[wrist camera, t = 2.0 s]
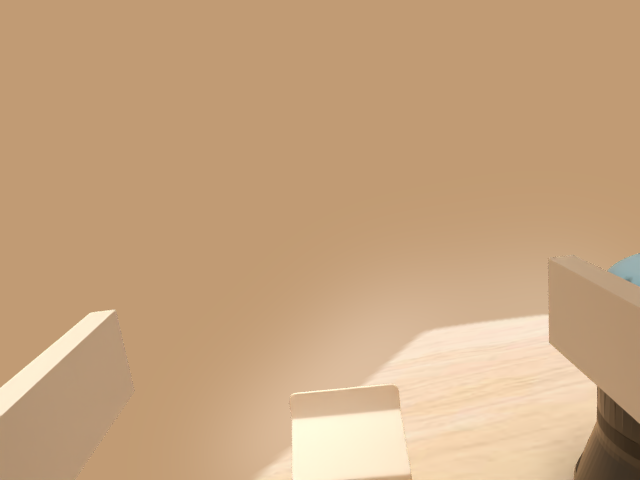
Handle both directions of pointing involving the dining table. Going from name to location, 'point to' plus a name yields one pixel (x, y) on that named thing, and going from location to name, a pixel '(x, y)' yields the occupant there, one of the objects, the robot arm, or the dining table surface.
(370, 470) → the milk
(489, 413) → the dining table surface
